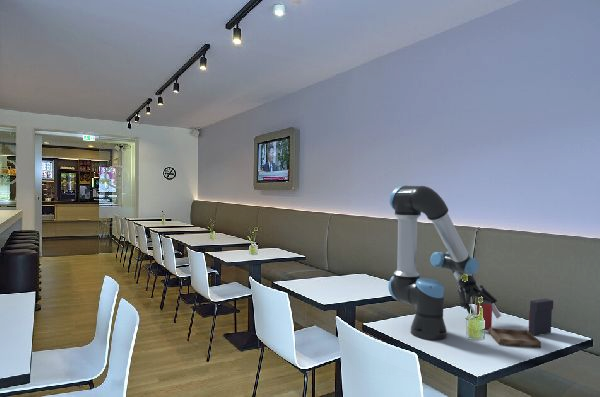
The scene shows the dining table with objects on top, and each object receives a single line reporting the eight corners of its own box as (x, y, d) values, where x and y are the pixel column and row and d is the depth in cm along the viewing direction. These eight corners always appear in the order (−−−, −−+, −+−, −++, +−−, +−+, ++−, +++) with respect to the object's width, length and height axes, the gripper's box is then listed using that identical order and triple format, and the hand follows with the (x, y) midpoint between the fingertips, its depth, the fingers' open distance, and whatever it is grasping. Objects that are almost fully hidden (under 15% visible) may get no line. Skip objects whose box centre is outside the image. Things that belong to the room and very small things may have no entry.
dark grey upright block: (543, 330, 190) (544, 297, 190) (552, 333, 186) (553, 300, 186) (527, 333, 185) (528, 300, 185) (536, 336, 182) (537, 302, 181)
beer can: (494, 330, 189) (495, 303, 189) (479, 329, 189) (480, 303, 189) (487, 325, 195) (488, 300, 195) (473, 324, 196) (474, 299, 195)
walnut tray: (499, 344, 171) (499, 338, 170) (488, 333, 184) (489, 327, 184) (540, 348, 168) (541, 342, 168) (527, 336, 182) (527, 330, 182)
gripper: (480, 281, 211) (503, 319, 197) (440, 284, 202) (462, 324, 188) (488, 273, 206) (513, 311, 192) (448, 275, 197) (471, 316, 183)
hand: (487, 318), depth 190 cm, fingers open, 13 cm apart
